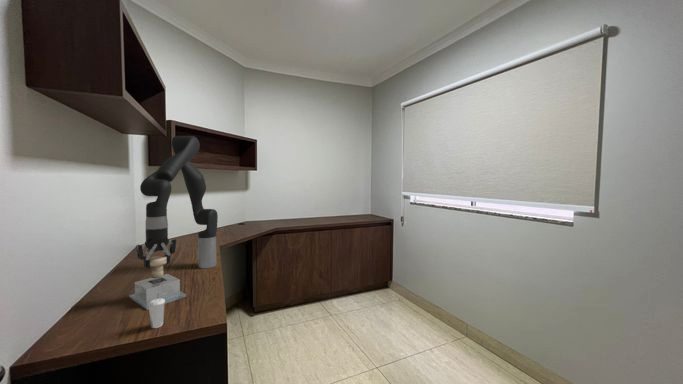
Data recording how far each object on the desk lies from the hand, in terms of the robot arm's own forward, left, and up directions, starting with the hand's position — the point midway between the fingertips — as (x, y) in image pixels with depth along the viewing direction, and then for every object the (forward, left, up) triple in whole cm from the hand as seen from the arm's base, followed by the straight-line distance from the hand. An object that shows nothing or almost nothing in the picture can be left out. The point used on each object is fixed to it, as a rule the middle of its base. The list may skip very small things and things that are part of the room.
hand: (157, 266), depth 107 cm
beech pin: (0, 0, -5) cm, 5 cm away
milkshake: (+24, -9, -13) cm, 29 cm away
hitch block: (0, 0, -13) cm, 13 cm away
